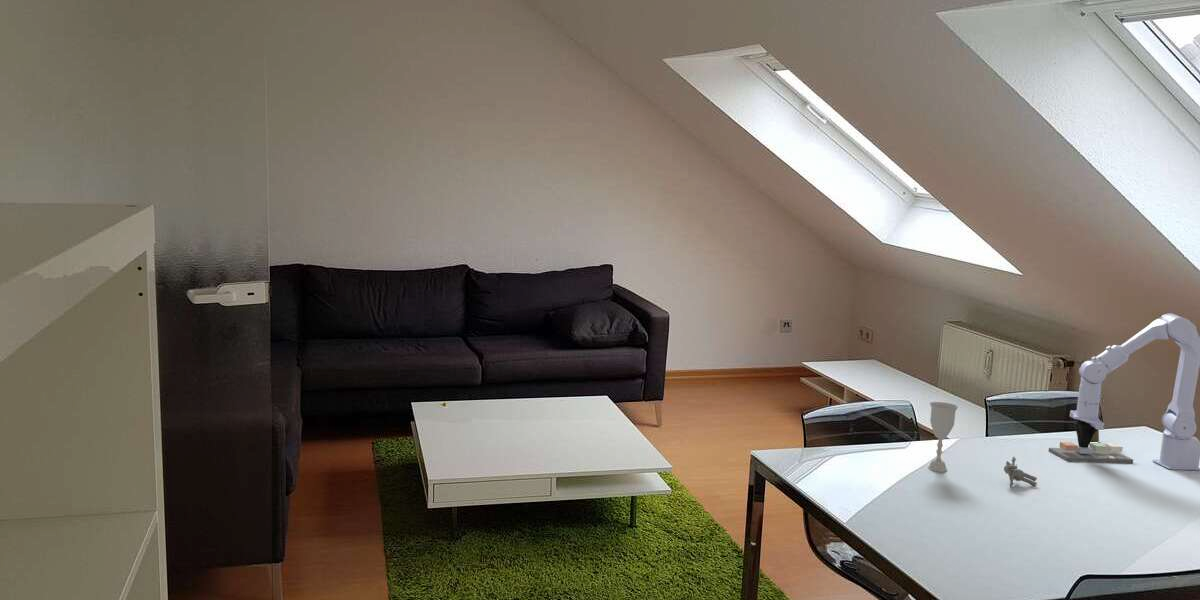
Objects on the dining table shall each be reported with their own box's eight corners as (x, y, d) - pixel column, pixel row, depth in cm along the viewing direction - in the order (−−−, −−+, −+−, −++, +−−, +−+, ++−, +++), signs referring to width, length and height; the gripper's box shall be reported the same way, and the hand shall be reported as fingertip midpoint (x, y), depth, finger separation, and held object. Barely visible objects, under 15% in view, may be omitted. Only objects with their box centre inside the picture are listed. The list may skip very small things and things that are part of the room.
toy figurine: (1041, 493, 250) (1008, 478, 250) (1027, 503, 254) (995, 488, 255) (1043, 462, 256) (1011, 448, 256) (1030, 472, 261) (998, 458, 261)
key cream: (1115, 448, 287) (1115, 443, 287) (1121, 452, 284) (1122, 446, 284) (1104, 448, 287) (1104, 443, 287) (1110, 451, 284) (1111, 446, 284)
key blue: (1085, 450, 287) (1085, 445, 287) (1091, 453, 283) (1092, 448, 283) (1074, 450, 287) (1074, 445, 286) (1080, 453, 283) (1081, 448, 283)
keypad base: (1112, 452, 291) (1113, 448, 291) (1132, 462, 281) (1133, 458, 281) (1048, 450, 290) (1048, 447, 289) (1066, 461, 280) (1067, 457, 280)
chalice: (921, 469, 265) (927, 405, 262) (925, 463, 271) (931, 400, 268) (949, 474, 261) (956, 409, 259) (953, 468, 267) (959, 404, 265)
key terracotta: (1070, 447, 286) (1071, 442, 286) (1076, 450, 283) (1077, 445, 283) (1059, 447, 286) (1060, 441, 286) (1065, 450, 283) (1066, 445, 283)
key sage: (1100, 448, 287) (1100, 443, 287) (1106, 451, 284) (1107, 446, 283) (1089, 448, 287) (1089, 442, 287) (1095, 451, 283) (1096, 446, 283)
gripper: (1062, 395, 290) (1057, 439, 292) (1089, 407, 276) (1083, 453, 277) (1084, 396, 290) (1079, 440, 292) (1113, 408, 276) (1107, 454, 278)
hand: (1083, 447), depth 285 cm, fingers closed, pressing on key blue
